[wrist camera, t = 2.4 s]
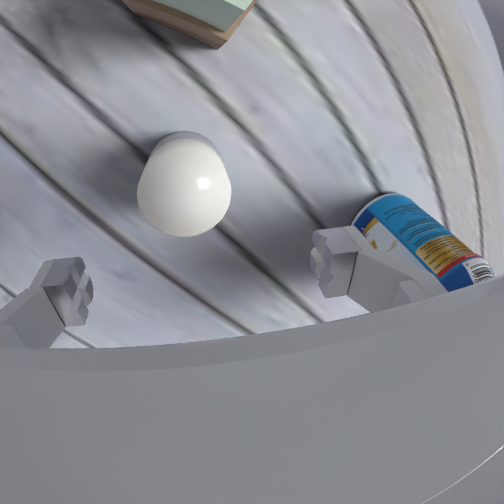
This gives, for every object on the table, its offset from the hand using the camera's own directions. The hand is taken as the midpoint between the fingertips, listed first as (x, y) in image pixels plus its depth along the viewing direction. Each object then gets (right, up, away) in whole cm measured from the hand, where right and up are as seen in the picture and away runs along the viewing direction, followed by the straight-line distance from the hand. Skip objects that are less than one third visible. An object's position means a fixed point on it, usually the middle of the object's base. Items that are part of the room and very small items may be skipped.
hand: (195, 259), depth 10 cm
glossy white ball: (-3, +6, +9) cm, 11 cm away
